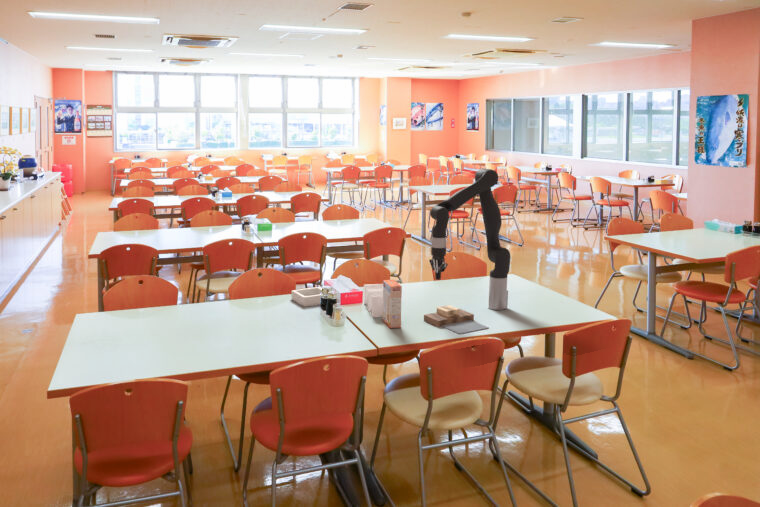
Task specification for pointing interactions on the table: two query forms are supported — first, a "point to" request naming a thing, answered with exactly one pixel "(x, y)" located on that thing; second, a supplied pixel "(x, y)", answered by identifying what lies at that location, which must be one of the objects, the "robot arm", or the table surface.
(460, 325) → the rubber mat
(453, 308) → the maple tile
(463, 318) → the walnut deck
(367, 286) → the storage container
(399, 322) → the cracker box
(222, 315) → the table surface
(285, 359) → the table surface
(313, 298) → the holder corral
